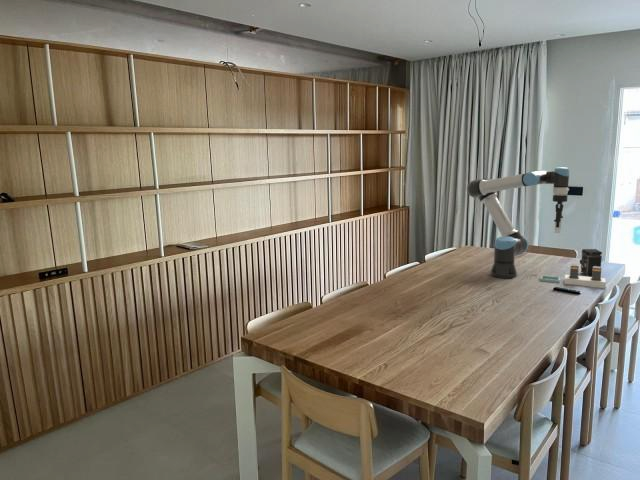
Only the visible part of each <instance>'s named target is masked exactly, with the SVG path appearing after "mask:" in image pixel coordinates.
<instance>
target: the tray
mask: <svg viewBox="0 0 640 480" xmlns="http://www.w3.org/2000/svg"><path fill="white" fill-rule="evenodd" d="M539 279H540V282H546V283H547V282H548V283H556V284H558V283H559V284H560V282H561V277H560V276H553V275H541V276H540V278H539Z"/></svg>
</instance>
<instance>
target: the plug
mask: <svg viewBox="0 0 640 480" xmlns="http://www.w3.org/2000/svg"><path fill="white" fill-rule="evenodd" d="M579 267H580V265H579V264H572V263H570V266H569V269H570V270H569V271H570V272H569V275H570V278H574V279H578V276H579V270H580V268H579Z"/></svg>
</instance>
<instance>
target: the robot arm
mask: <svg viewBox="0 0 640 480" xmlns="http://www.w3.org/2000/svg"><path fill="white" fill-rule="evenodd" d="M569 179H570V168H568V167H559V166H558V167H555V168H554V170H535V171H529V172H526V173H520V174H515V175H509V176H505V177H499V178H498V177H497V178H493V179H490V178H480V179H474V180H471V181H470V182H468V184H467V186H466V192H467V194H468V195H469V197H471V198H475V199H478V200H479V202H480V203H481V204H483V205H485V207H486V210H487V211H488V213H489V214H490V217H491V219H492V220H493V222H494V224H495V225H496V227H497V229H498V231H499V233H500V235H501V236H499V237H497V238H496V239H495V241H494V245H493V247H494V251H493V253H494V255H493V264H492V265H491V266H492V267H491V269H490V276H491V277H494V278H498V279H514V278H516V277H518V272H517V267H516V266H515V265H516V264H515V258H516V257H517V256H520V255H523V254H524V253H525V252H527V251H528V248H529V241H528V239H527V237H525V236H524V235H522V234H521V233H520V231H519V230H517V229H515V227H514V226H513V223H512V222H511V219H510V218H509V216H508V215H507V213H506V211H505V210H504V208H503V206H502V204H501V202H500V200H499V199H498V192H501V191H506V190H512V189H519V188H525V187H531V186H532V187H533V186H538V185H553V187H552V202H557V203H556V204H555V218H554V220H553V222H554V233H555V234H560V233H561V230H562V220H563V218H564V216H563V215H562V214H563V210H564V204H563V203H567V202H568V194H569V193H568V192H569V191H570V188H569Z"/></svg>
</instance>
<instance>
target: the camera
mask: <svg viewBox="0 0 640 480" xmlns="http://www.w3.org/2000/svg"><path fill="white" fill-rule="evenodd" d="M602 253H603V252H602V251H601V250H599V249H597V248H582V249H581V259H580V260H579V264H580V272H581V273H582V274H584V275H586V276H590V275H591V276H592V272H593V266H597V267H601V268H602V261H603V260H602V258H603V256H602Z"/></svg>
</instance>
